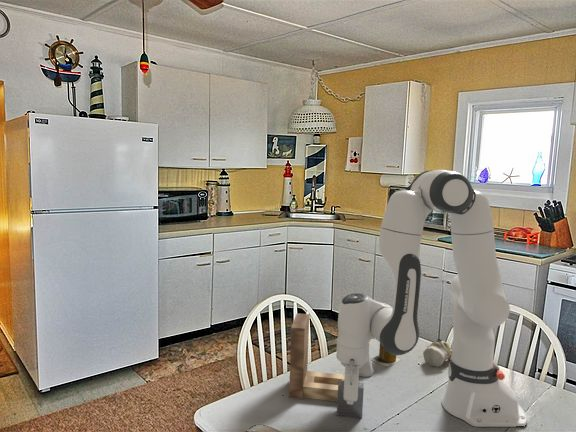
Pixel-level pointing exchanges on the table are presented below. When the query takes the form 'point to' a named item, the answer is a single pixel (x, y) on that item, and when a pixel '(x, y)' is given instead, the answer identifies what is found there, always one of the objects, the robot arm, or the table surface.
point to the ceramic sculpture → (437, 353)
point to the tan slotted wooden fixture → (300, 378)
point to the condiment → (385, 357)
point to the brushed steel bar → (348, 409)
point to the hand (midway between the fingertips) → (350, 398)
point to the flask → (366, 369)
